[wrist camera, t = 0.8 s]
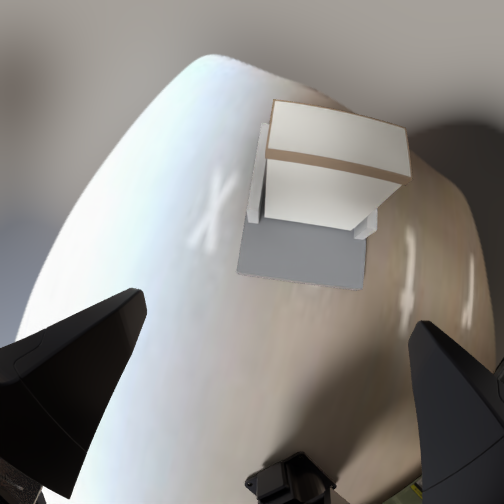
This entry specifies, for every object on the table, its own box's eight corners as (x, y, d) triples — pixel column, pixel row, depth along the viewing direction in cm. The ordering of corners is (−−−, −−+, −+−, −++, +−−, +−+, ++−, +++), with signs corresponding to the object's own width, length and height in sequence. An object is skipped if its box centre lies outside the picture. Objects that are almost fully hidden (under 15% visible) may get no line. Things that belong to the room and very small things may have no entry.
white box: (351, 232, 21) (412, 179, 11) (262, 218, 21) (265, 149, 12) (353, 195, 22) (405, 128, 12) (268, 181, 22) (273, 99, 12)
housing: (356, 290, 22) (377, 286, 18) (237, 274, 22) (232, 266, 18) (361, 149, 24) (376, 123, 20) (261, 132, 25) (261, 102, 21)
